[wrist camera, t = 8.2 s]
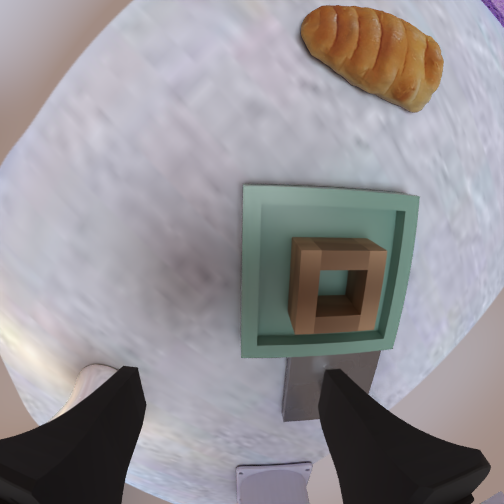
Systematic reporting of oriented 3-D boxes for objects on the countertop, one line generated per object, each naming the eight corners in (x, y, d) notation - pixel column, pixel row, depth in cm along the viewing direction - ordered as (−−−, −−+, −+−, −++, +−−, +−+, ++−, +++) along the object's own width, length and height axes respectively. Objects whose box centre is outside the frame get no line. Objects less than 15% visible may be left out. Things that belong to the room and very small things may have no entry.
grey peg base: (357, 404, 24) (373, 438, 20) (281, 412, 24) (288, 450, 19) (375, 341, 22) (398, 373, 18) (288, 347, 22) (298, 385, 17)
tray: (382, 335, 22) (392, 348, 20) (240, 342, 21) (241, 358, 19) (404, 193, 19) (419, 196, 17) (243, 183, 18) (243, 185, 16)
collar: (357, 308, 20) (373, 329, 17) (287, 311, 20) (294, 334, 17) (367, 238, 19) (387, 250, 16) (291, 237, 19) (301, 250, 16)
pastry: (288, 74, 17) (299, 54, 13) (306, -3, 15) (318, -31, 11) (415, 119, 18) (446, 113, 14) (423, 43, 16) (450, 28, 12)
